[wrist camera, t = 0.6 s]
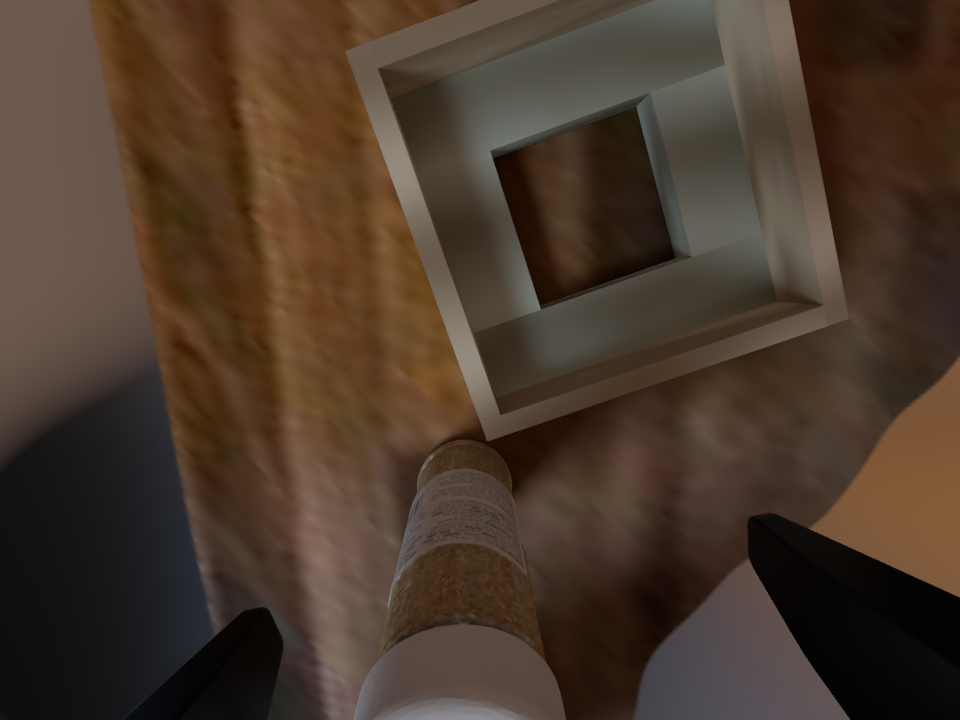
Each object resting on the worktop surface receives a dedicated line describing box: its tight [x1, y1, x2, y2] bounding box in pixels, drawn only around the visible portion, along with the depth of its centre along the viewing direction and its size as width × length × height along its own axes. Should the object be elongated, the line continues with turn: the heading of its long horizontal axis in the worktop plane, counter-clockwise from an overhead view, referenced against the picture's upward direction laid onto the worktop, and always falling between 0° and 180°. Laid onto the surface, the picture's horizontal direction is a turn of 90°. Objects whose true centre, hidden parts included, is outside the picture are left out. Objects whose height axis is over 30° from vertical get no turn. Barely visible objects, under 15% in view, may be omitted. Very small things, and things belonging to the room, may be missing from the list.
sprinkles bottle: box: [353, 439, 566, 720], centre depth 15 cm, size 5×4×14 cm
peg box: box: [345, 0, 849, 441], centre depth 17 cm, size 14×14×4 cm
